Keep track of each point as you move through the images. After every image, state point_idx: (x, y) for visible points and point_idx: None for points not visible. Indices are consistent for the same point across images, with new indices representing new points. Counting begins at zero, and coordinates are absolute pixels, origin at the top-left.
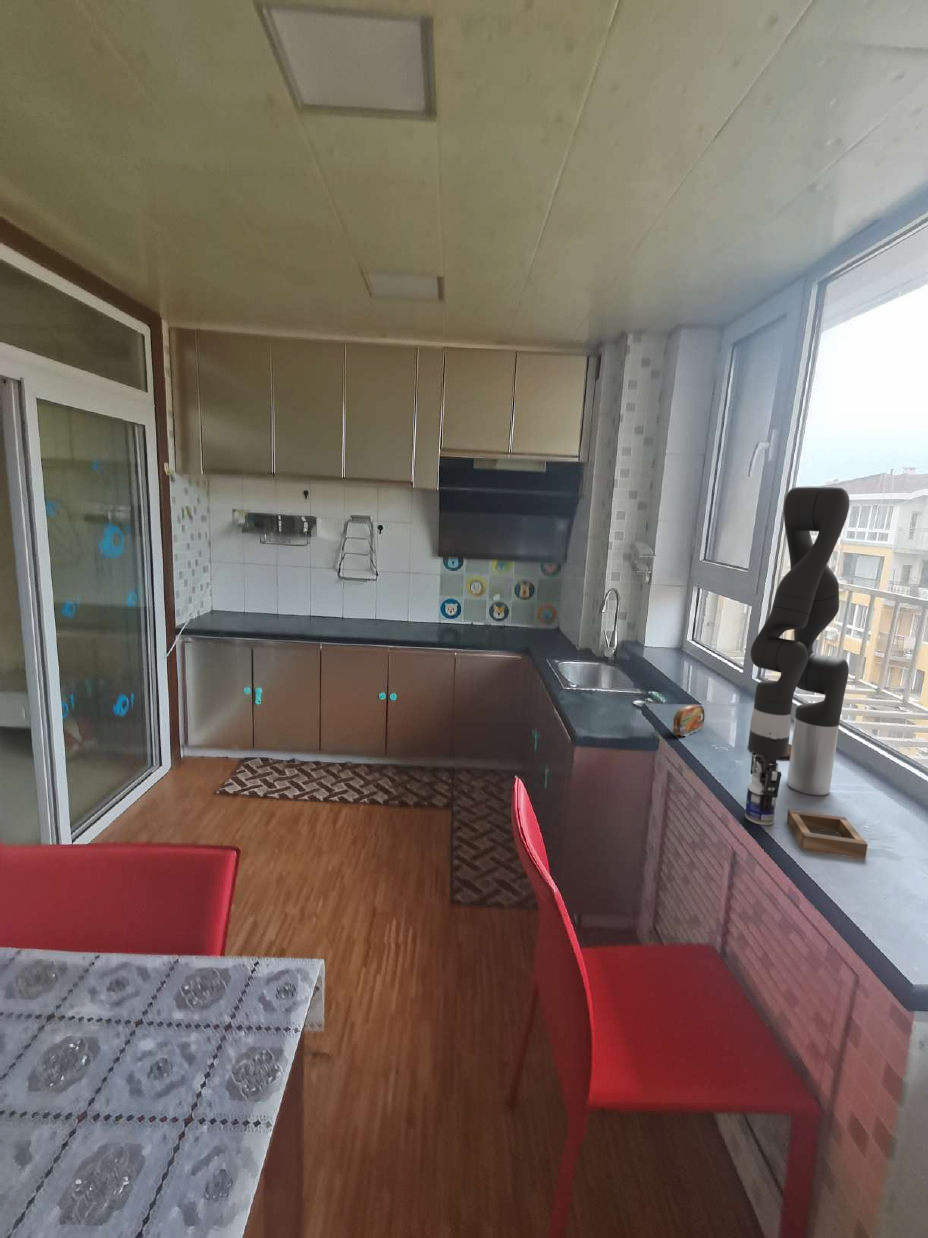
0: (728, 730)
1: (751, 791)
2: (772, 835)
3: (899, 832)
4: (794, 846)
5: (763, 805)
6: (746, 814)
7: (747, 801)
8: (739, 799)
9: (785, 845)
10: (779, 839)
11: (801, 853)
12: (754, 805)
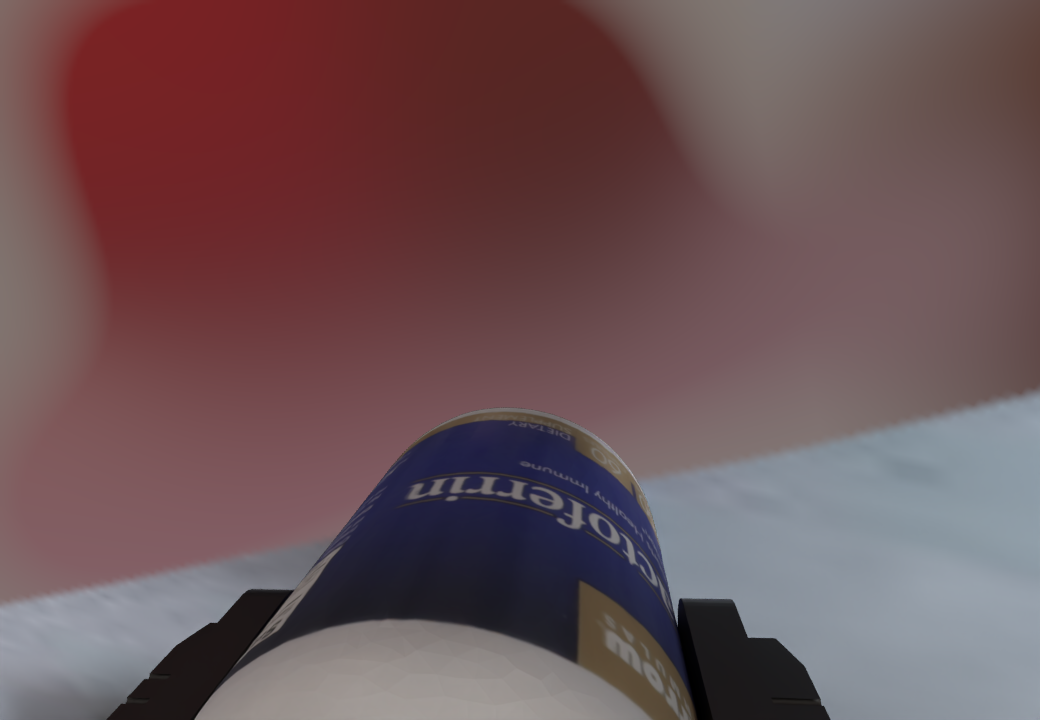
0: None
1: (274, 652)
2: (232, 569)
3: None
4: (120, 683)
5: (145, 684)
6: (465, 420)
7: (436, 489)
8: (1003, 431)
9: (102, 623)
10: (184, 606)
11: (35, 698)
12: (320, 557)
